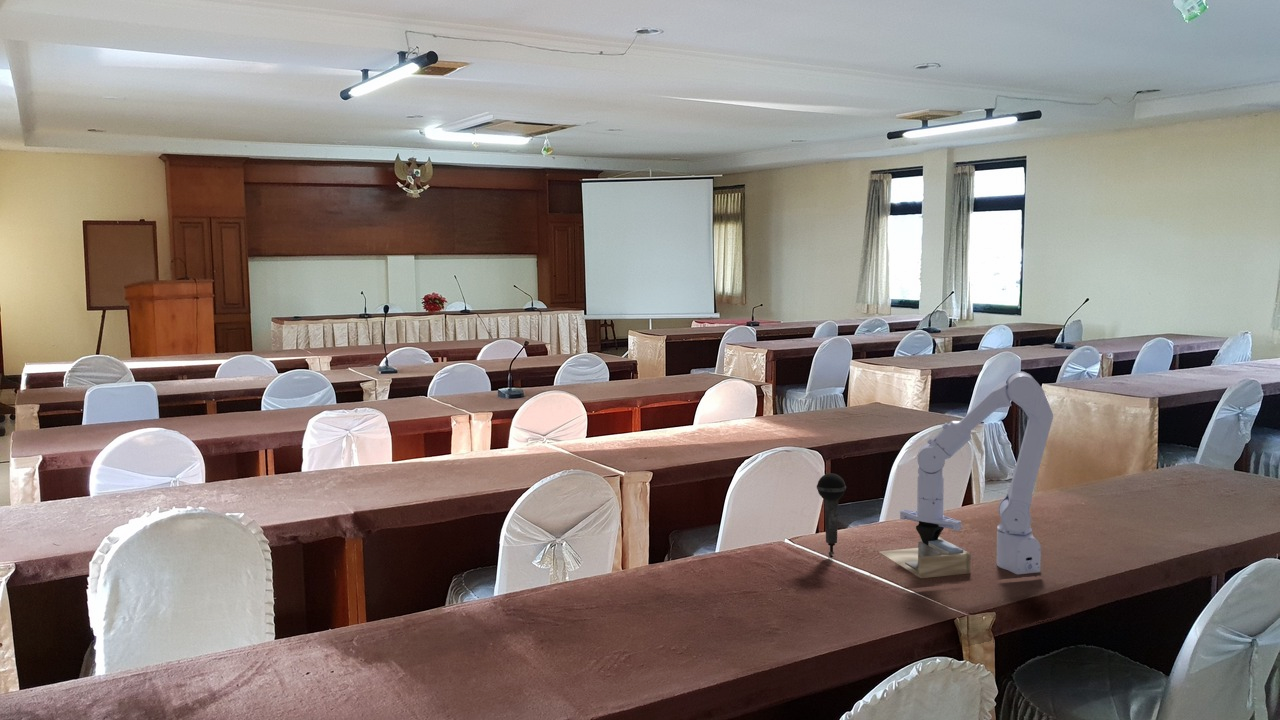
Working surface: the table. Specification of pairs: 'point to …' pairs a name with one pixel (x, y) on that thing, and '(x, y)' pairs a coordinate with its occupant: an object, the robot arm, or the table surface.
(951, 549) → the grey-blue block
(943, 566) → the wooden open box
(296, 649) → the table surface
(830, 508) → the microphone
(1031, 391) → the robot arm
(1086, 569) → the table surface
